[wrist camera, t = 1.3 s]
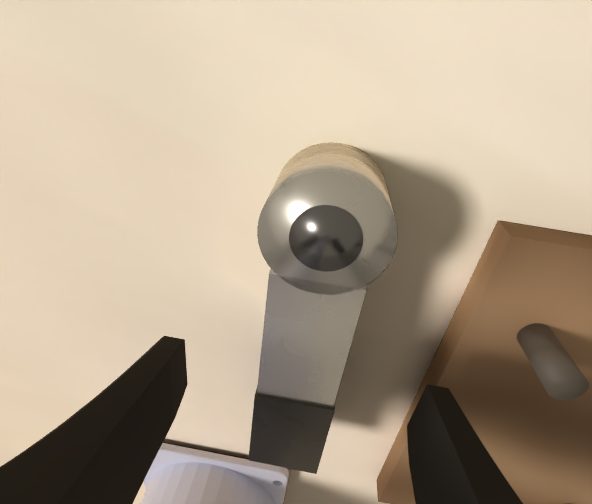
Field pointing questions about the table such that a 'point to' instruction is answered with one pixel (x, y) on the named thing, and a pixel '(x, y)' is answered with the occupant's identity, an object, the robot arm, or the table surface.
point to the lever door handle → (315, 293)
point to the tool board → (520, 366)
